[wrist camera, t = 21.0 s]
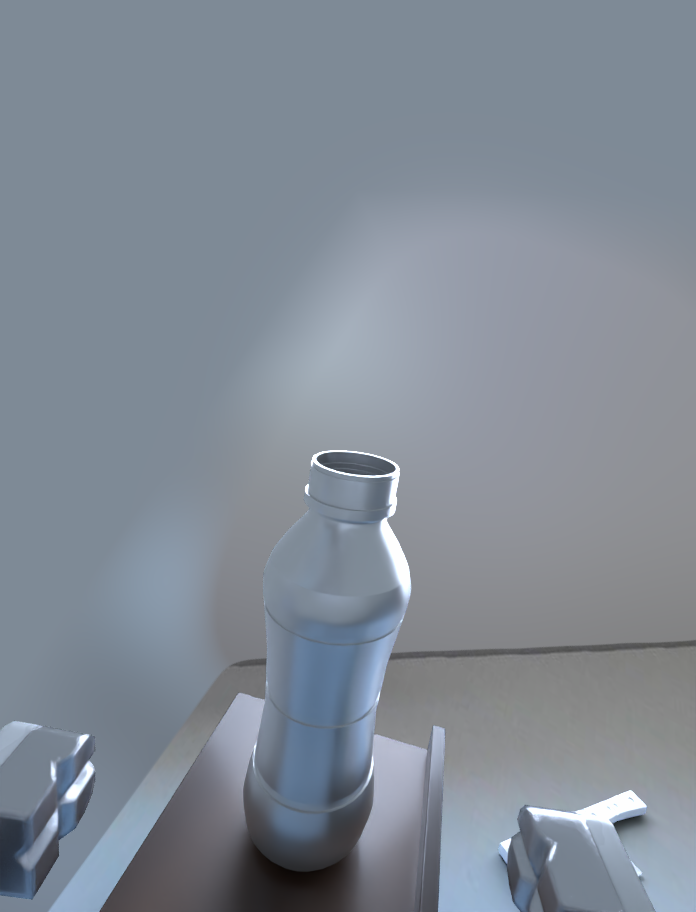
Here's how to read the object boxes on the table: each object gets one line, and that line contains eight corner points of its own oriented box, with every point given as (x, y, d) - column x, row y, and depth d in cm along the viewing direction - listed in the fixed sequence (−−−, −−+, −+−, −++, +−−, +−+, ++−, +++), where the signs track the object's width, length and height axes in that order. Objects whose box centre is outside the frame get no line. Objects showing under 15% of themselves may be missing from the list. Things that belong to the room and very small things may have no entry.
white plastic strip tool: (683, 855, 38) (688, 845, 38) (544, 926, 32) (548, 915, 32) (627, 796, 43) (631, 786, 42) (496, 848, 37) (499, 838, 36)
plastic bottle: (390, 854, 24) (471, 485, 19) (265, 927, 20) (320, 497, 15) (330, 752, 29) (379, 440, 24) (221, 796, 26) (251, 442, 20)
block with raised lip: (90, 1099, 23) (87, 894, 19) (226, 821, 36) (240, 667, 32) (373, 1244, 20) (433, 1038, 17) (407, 886, 33) (445, 727, 30)
